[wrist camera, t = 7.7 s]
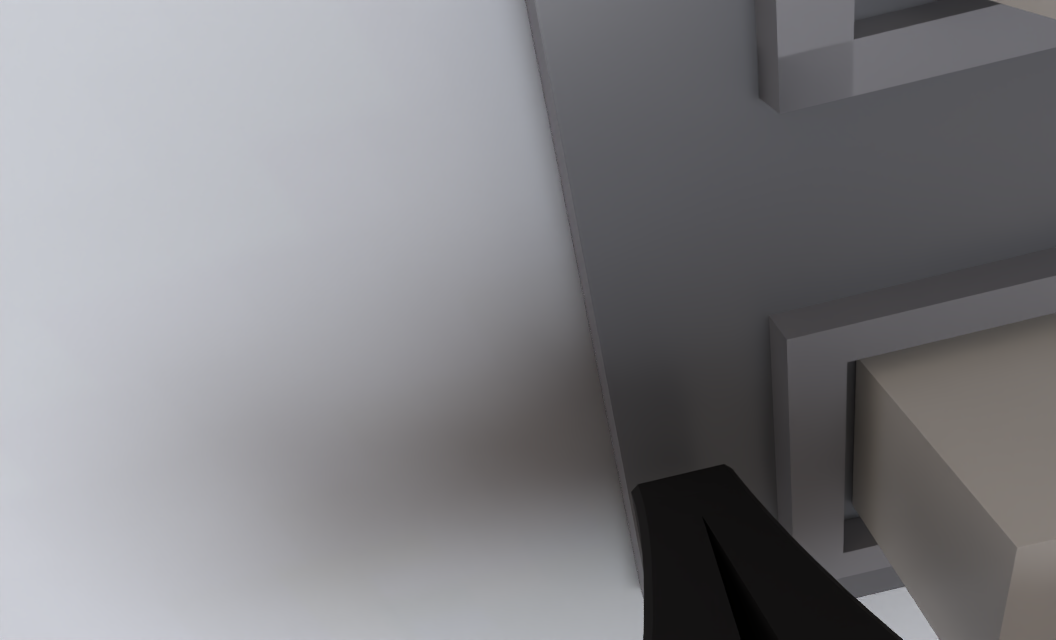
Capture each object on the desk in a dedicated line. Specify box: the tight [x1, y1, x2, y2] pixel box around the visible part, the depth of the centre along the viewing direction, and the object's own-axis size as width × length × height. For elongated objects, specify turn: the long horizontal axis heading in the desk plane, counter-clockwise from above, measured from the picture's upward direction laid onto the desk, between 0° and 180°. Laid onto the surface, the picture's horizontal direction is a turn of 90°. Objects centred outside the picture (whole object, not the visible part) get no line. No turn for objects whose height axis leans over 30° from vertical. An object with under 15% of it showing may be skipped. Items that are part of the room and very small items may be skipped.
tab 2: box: [852, 313, 1056, 640], centre depth 10 cm, size 3×3×4 cm
